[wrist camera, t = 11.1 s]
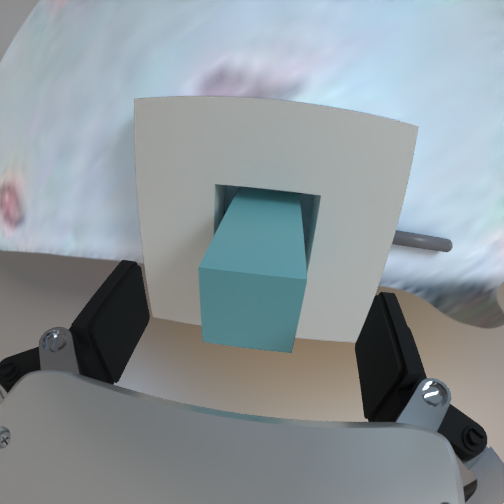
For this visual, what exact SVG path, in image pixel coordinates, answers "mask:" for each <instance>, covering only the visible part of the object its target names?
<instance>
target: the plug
mask: <svg viewBox="0 0 504 504" xmlns="http://www.w3.org/2000/svg"><path fill="white" fill-rule="evenodd" d="M198 269H199V291H200V309H201V325H202V339H203V342H208V343H214V344H221V345H228V346H235V347H243V348H251V349H259V350H268V351H278V352H288V353H292V349H293V345H294V340H295V336H296V331H297V327H298V322H299V318H300V313H301V308H302V303H303V298H304V294H305V289H306V284H307V269H306V257H305V245H304V234H303V224H302V214H301V205H300V195H299V193H292V192H283V191H274V190H264V189H253V188H242V187H239V189H238V190H237V192H236V194H235V196H234V198H233V200H232V202H231V204H230V206H229V208H228V210H227V211H226V213H225V215H224V217H223V219H222V221H221V223H220V225H219V227H218V229H217V231H216V233H215V235H214V237H213V239H212V241H211V243H210V245H209V247H208V249H207V251H206V253H205V255H204V257H203V259H202V261H201V263H200V265H199V267H198Z"/></svg>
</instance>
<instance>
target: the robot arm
mask: <svg viewBox="0 0 504 504" xmlns="http://www.w3.org/2000/svg"><path fill="white" fill-rule="evenodd" d="M149 317H150V316H149V310H148V305H147V300H146V294H145V289H144V283H143V277H142V271H141V267H140V266H138V265H137V263H136V262H134V261H128V260H122V261H121V262H120V263H119V265H118V266H117V267H116V268H115V269H114V271H113V272H112V273H111V274H110V275H109V277H108V278H107V279H106V281H105V282H104V283H103V284H102V285H101V287H100V288H99V289H98V290H97V292H96V293H95V294H94V295H93V297H92V298H91V299H90V301H89V302H88V303H87V304H86V306H85V307H84V308H83V310H82V311H81V313H80V314H79V315H78V316H77V318H76V319H75V320H74V322H73V323H72V326H71V327H70V329H69V330H68V329H66V328H63V327H55V328H52V329H49V330H48V331H46V332H45V333H44V334H43V335H42V336H41V338H40V340H39V347H37V348H34V349H31V350H28V351H25V352H22V353H19V354H16V355H13V356H10V357H7V358H5V359H3V360H2V361H1V362H0V504H502V503H503V502H504V463H503V462H502V460H501V459H500V458H499V456H498V455H497V454H496V453H495V451H494V450H493V448H492V447H490V448H488V447H487V446H486V445H487V435H486V432H485V431H484V429H483V428H482V427H481V426H480V425H479V424H478V423H476V422H474V421H473V420H472V419H471V418H469V417H468V416H466V415H465V414H464V413H462V412H461V411H459V410H458V409H457V408H455V407H454V406H452V405H451V404H450V402H451V393H450V390H449V388H448V387H447V386H446V384H444V383H443V382H442V381H440V380H438V379H435V378H426V374H425V371H424V368H423V365H422V362H421V358H420V355H419V353H418V350H417V347H416V344H415V341H414V338H413V335H412V333H411V330H410V328H409V327H408V326H407V324H406V321H405V318H404V316H403V313H402V310H401V308H400V305H399V303H398V300H397V298H396V295H395V294H394V293H386V292H381V293H380V294H379V295H376V296H375V297H374V299H373V302H372V304H371V307H370V310H369V312H368V315H367V317H366V320H365V322H364V324H363V327H362V329H361V332H360V334H359V336H358V339H357V341H356V344H355V352H356V359H357V365H358V372H359V379H360V386H361V394H362V401H363V410H364V417H365V418H366V419H368V422H337V421H311V420H309V421H308V420H294V419H283V418H273V417H263V416H255V415H247V414H240V413H234V412H227V411H221V410H215V409H210V408H204V407H199V406H194V405H189V404H185V403H180V402H176V401H171V400H167V399H163V398H159V397H154V396H151V395H147V394H143V393H140V392H136V391H133V390H129V389H126V388H122V387H119V386H115V385H113V384H114V382H115V383H117V382H118V381H119V379H120V377H121V375H122V373H123V371H124V369H125V367H126V365H127V362H128V361H129V359H130V357H131V355H132V353H133V351H134V349H135V347H136V345H137V343H138V342H139V340H140V338H141V336H142V334H143V332H144V330H145V328H146V326H147V324H148V322H149Z"/></svg>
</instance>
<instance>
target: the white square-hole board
mask: <svg viewBox="0 0 504 504" xmlns="http://www.w3.org/2000/svg"><path fill="white" fill-rule="evenodd" d="M417 133H418V126H415V125H411V124H408V123H404V122H400V121H396V120H392V119H388V118H384V117H380V116H375V115H371V114H366V113H361V112H357V111H351V110H346V109H340V108H335V107H329V106H322V105H316V104H308V103H301V102H292V101H283V100H273V99H261V98H246V97H222V96H177V97H154V98H139V99H134V143H135V170H136V187H137V201H138V213H139V223H140V233H141V242H142V250H143V258H144V266H145V273H146V279H147V286H148V292H149V298H150V304H151V309H152V315H153V317H155V318H161V319H166V320H171V321H177V322H182V323H189V324H195V325H200V326H202V325H201V309H200V291H199V269H198V267H199V265H200V263H201V261H202V259H203V257H204V255H205V253H206V251H207V249H208V247H209V245H210V243H211V241H212V239H213V237H214V235H215V233H216V231H217V229H218V227H219V225H220V223H221V221H222V219H223V212H224V185H232V186H243V187H253V188H263V189H272V190H281V191H290V192H298V193H306V194H314V200H313V207H312V213H311V219H310V226H309V231H308V237H307V243H306V249H305V257H306V269H307V284H306V289H305V294H304V298H303V303H302V308H301V313H300V318H299V322H298V327H297V331H296V336H295V338H304V339H314V340H328V341H342V342H356V341H357V339H358V336H359V334H360V332H361V329H362V327H363V324H364V322H365V320H366V317H367V315H368V312H369V310H370V307H371V304H372V302H373V299H374V296H375V293H376V291H377V288H378V285H379V282H380V279H381V276H382V273H383V270H384V267H385V264H386V261H387V258H388V255H389V252H390V248H391V245H392V244H395V245H402V246H409V247H416V248H423V249H429V250H436V251H442V252H449V251H450V250H451V249H452V242H451V241H450V240H449V239H444V238H439V237H433V236H427V235H421V234H415V233H409V232H403V231H396V228H397V224H398V220H399V217H400V213H401V209H402V205H403V201H404V197H405V193H406V188H407V184H408V180H409V175H410V170H411V165H412V160H413V155H414V150H415V144H416V139H417Z"/></svg>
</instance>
